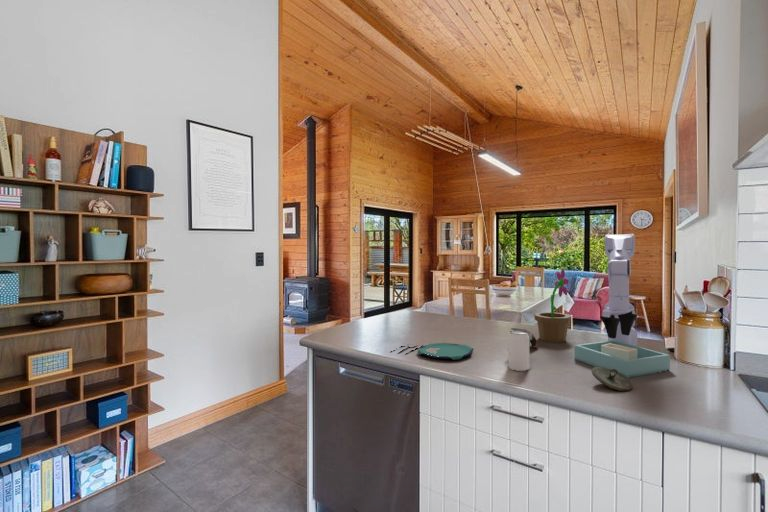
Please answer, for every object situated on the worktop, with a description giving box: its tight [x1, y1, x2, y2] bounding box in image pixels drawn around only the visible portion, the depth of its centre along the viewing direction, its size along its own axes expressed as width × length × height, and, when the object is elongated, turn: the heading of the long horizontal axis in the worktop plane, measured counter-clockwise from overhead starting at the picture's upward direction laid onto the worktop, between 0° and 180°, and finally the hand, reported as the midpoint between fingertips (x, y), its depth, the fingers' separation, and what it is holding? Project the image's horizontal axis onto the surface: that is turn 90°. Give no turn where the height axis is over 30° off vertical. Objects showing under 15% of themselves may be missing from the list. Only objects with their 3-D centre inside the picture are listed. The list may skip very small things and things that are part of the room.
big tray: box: [574, 340, 671, 379], centre depth 127 cm, size 18×20×5 cm
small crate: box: [601, 343, 637, 360], centre depth 128 cm, size 5×9×5 cm, turn 29°
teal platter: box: [417, 342, 474, 361], centre depth 147 cm, size 20×30×2 cm, turn 58°
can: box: [507, 330, 530, 372], centre depth 125 cm, size 6×6×12 cm
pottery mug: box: [523, 328, 539, 351], centre depth 151 cm, size 12×10×8 cm
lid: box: [591, 366, 633, 392], centre depth 110 cm, size 11×10×5 cm
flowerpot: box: [533, 268, 572, 343], centre depth 162 cm, size 14×14×30 cm
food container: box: [510, 327, 532, 348], centre depth 134 cm, size 12×6×10 cm, turn 168°
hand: (618, 336), depth 128 cm, fingers open, 7 cm apart
